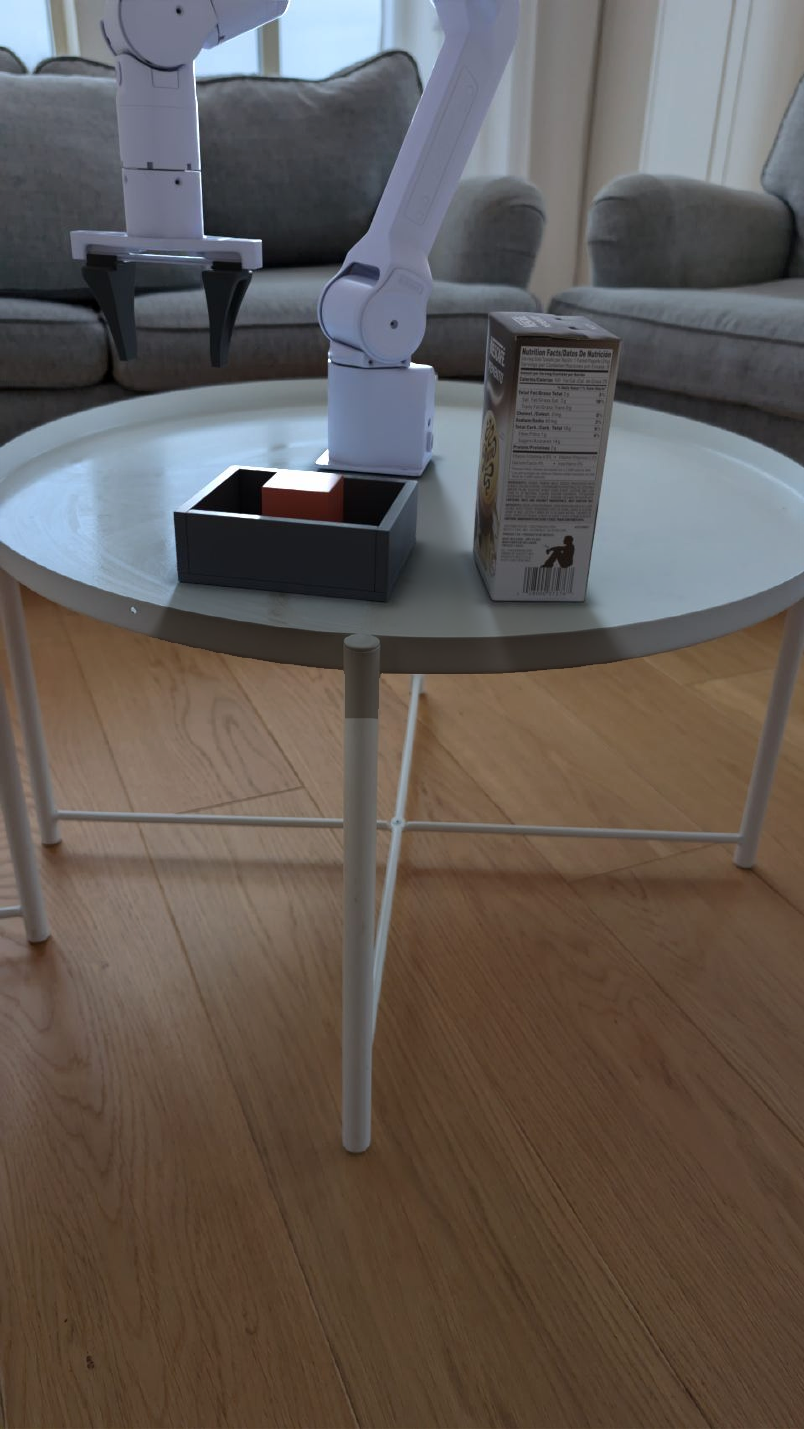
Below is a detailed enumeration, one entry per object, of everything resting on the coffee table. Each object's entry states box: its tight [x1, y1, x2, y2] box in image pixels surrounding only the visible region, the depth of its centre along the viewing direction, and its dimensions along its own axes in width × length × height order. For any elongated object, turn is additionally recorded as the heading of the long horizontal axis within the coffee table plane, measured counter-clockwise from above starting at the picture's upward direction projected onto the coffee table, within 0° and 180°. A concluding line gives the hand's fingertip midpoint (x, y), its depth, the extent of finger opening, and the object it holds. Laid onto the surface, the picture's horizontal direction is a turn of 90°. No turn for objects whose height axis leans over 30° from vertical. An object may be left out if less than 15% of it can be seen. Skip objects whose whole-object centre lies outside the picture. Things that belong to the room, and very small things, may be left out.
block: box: [262, 469, 344, 523], centre depth 68 cm, size 4×4×5 cm
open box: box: [172, 464, 419, 603], centre depth 69 cm, size 14×12×5 cm
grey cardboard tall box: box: [472, 311, 623, 602], centre depth 65 cm, size 9×6×16 cm
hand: (173, 362), depth 82 cm, fingers open, 7 cm apart
